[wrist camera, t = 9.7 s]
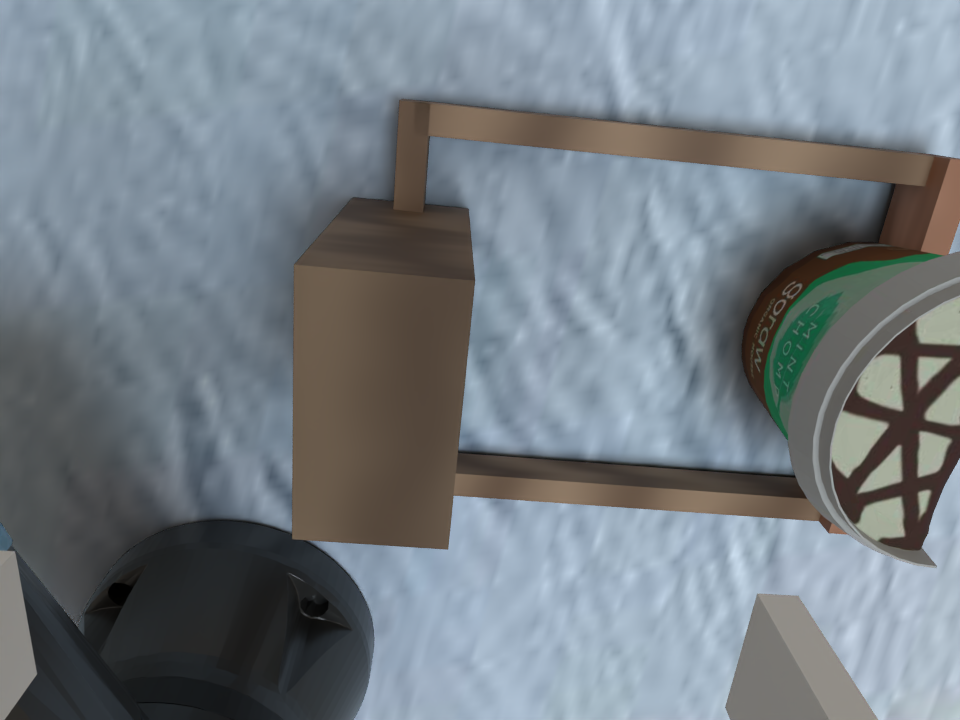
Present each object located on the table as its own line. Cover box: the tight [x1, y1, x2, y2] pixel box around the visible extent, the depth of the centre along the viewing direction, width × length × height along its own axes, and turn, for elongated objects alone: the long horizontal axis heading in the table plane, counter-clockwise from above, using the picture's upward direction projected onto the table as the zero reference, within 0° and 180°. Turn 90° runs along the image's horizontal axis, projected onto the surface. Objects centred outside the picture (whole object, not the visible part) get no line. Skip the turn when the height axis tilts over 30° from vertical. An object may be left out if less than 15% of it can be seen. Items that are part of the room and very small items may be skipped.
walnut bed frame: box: [292, 99, 960, 549], centre depth 28 cm, size 25×17×12 cm
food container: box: [742, 242, 960, 568], centre depth 29 cm, size 12×6×10 cm, turn 174°
